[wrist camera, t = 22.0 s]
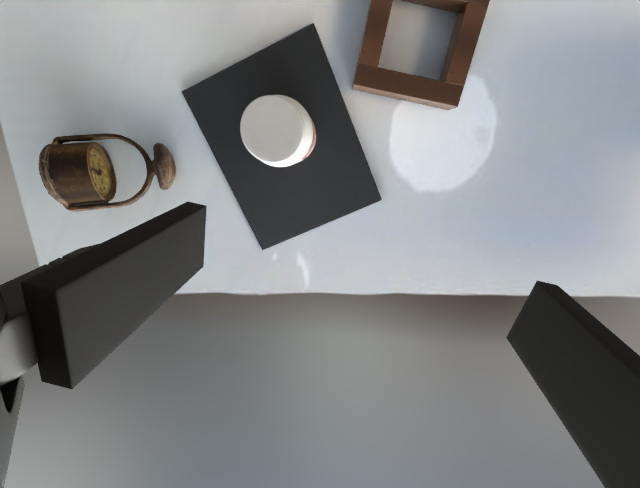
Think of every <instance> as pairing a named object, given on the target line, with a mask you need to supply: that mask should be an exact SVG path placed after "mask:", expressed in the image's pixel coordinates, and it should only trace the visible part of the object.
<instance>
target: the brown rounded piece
mask: <svg viewBox="0 0 640 488" xmlns="http://www.w3.org/2000/svg"><path fill="white" fill-rule="evenodd" d="M103 139H120V140H123V141H125V142H127V143H129V144H131V145H133V146H134V147H136V148H137V149H138V150H139V151H140V153H141V154H142V155H143V157H144V159H145V162H146V167H147V178H146V181H145V183H144V185H143V187H142V189H141V190H140V191H139V192H138V193H137V194H136V195H135V196H133V197H132V198H130V199H128V200H126V201H122V202H115V203H108V201H111V200H112V199H113V197H114V195H115V193H116V177H115V173H114V169H113V165H112V163H111V160H110V158H109V156H108V154H107V152H106V150H105V149H104V148H103V147H102V146H101V145H100V144H98V143H96V142H90V143H71V144H62V143H64V142H70V141H91V140H103ZM153 150H154V160H153V161H151V159H150V158H149V156H148V154H147V152H146V151H145V150H144V149H143V148H142V147H141V146H140V145H139V144H137V143H136V142H134V141H133V140H131V139H129V138H127V137H124V136H121V135H117V134H90V135H74V136H62V137H56V138H54V140H53V142H52V144H48V145H46V146H45V147H44V148H43V149H42V151H41V153H40V156H39V171H40V175H41V178H42V181H43V183H44V186H45V188H46V189H47V191H48V193H49V194H50V195H51V196H52V197H53V198H54V199H55V200H57V201H58V202H60V203H61V204H63V206H64V207H65V208H66V209H68V210H69V211H85V210H94V209H103V208H113V207H122V206H126V205H130V204H132V203H134V202H136V201H137V200H138V199H139V198H141V197H142V196H143V195H144V194H145V193H146V192H147V191H148V189H149V187H150V185H151V182H152V179H153V176H154V175H157V178H158V182H159V185H160V188H161V189H163V190H166V189H168V188H169V187H170V186H171V185H172V183H173V180H174V178H175V173H176V168H175V163H174V160H173V157H172V155H171V154H170V152H169V150H168V149H167V148H166V147H165V146H164V145H163V144H160V143H157V144H155V145H154V148H153Z"/></svg>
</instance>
